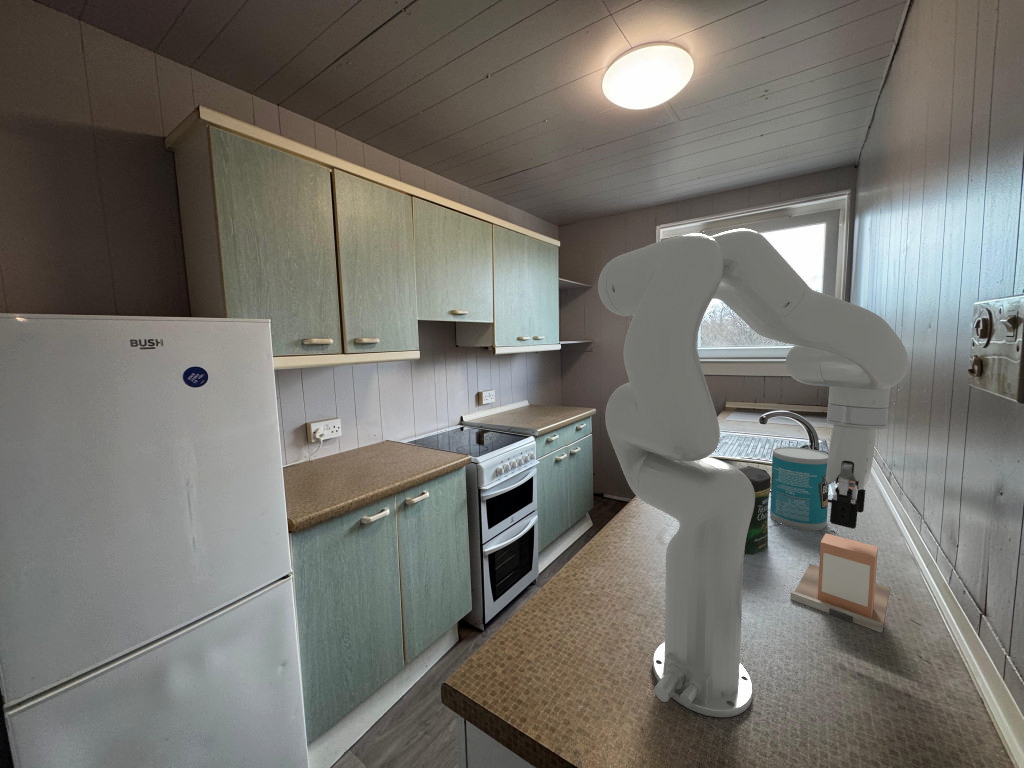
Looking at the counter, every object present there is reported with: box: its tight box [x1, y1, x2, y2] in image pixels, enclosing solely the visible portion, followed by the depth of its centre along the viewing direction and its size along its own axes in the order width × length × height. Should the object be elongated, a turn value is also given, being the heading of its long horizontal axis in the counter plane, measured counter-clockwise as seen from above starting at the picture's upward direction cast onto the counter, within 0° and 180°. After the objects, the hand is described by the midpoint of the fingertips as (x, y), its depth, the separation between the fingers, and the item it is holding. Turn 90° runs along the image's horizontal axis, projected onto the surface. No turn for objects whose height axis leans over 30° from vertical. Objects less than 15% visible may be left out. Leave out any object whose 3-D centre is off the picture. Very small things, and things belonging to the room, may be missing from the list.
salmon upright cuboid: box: [818, 532, 879, 619], centre depth 69 cm, size 5×7×11 cm, turn 44°
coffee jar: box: [738, 465, 772, 555], centre depth 90 cm, size 10×8×19 cm
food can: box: [769, 446, 830, 531], centre depth 104 cm, size 12×12×18 cm
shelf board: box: [790, 563, 891, 634], centre depth 73 cm, size 16×12×2 cm
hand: (847, 517), depth 68 cm, fingers open, 9 cm apart
